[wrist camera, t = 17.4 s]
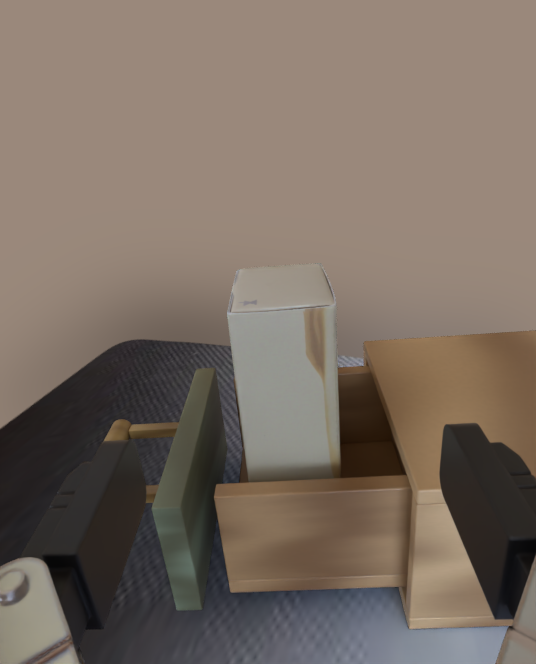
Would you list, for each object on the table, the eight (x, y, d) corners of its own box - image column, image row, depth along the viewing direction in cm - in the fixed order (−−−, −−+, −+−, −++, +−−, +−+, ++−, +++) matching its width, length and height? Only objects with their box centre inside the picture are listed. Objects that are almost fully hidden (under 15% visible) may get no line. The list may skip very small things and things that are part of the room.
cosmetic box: (345, 545, 23) (341, 307, 17) (254, 550, 23) (223, 316, 18) (330, 456, 28) (323, 257, 23) (257, 460, 29) (235, 264, 23)
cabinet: (408, 629, 21) (417, 491, 17) (363, 446, 32) (363, 340, 29) (733, 620, 20) (807, 472, 17) (569, 435, 31) (594, 326, 28)
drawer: (72, 615, 22) (32, 514, 19) (138, 453, 32) (118, 373, 29) (457, 602, 21) (471, 493, 18) (398, 440, 31) (402, 355, 28)
